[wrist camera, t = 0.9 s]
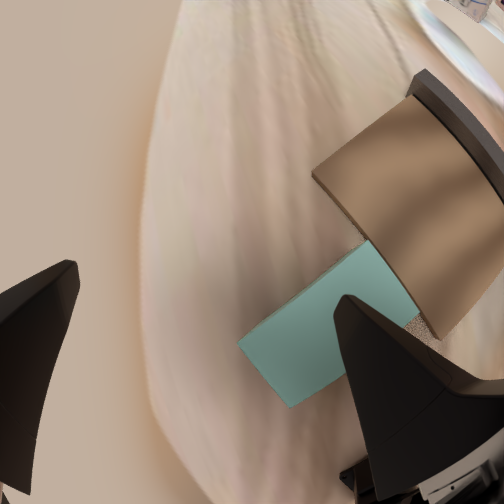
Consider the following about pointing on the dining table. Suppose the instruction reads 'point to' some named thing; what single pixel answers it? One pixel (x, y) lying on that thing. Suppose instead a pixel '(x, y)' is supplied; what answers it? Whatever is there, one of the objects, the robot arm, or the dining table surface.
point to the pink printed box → (500, 4)
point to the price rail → (461, 127)
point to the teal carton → (322, 324)
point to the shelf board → (421, 210)
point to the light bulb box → (472, 8)
